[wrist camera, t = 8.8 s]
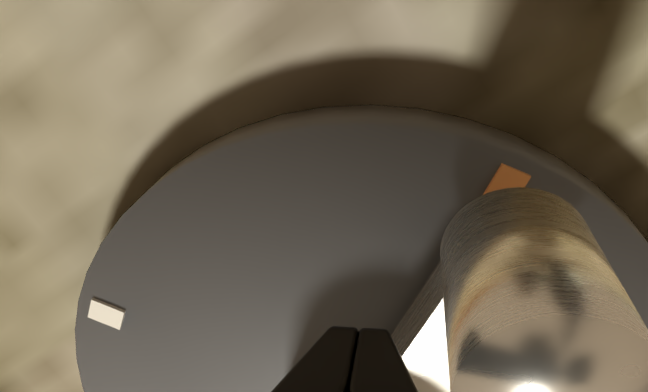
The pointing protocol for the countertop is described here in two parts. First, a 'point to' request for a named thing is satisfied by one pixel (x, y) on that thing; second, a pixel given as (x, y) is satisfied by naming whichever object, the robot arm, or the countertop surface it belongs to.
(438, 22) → the countertop surface
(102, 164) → the countertop surface
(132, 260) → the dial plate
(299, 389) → the robot arm
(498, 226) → the silver dumbbell
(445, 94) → the countertop surface
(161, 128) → the countertop surface
